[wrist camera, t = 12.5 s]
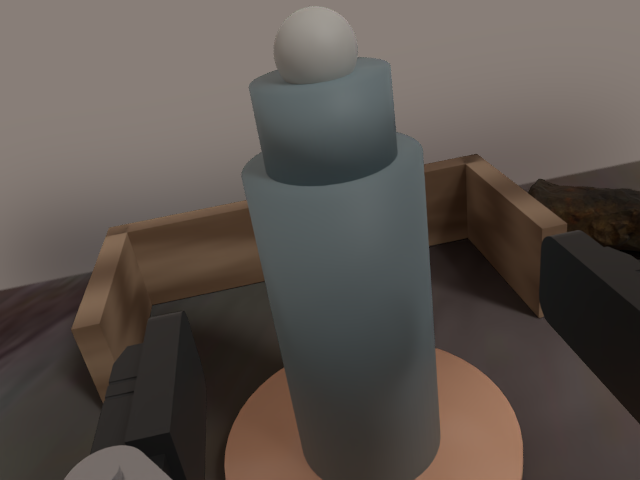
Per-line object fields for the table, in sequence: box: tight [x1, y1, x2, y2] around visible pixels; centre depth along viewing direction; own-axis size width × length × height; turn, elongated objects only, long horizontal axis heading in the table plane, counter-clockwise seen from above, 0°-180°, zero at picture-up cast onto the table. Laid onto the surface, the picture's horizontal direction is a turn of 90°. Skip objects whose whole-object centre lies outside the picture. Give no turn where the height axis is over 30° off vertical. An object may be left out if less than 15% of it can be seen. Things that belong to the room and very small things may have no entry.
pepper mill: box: [242, 6, 441, 480], centre depth 18 cm, size 5×5×15 cm
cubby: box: [71, 154, 567, 402], centre depth 31 cm, size 10×22×5 cm, turn 100°
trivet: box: [224, 348, 523, 480], centre depth 22 cm, size 11×11×2 cm
